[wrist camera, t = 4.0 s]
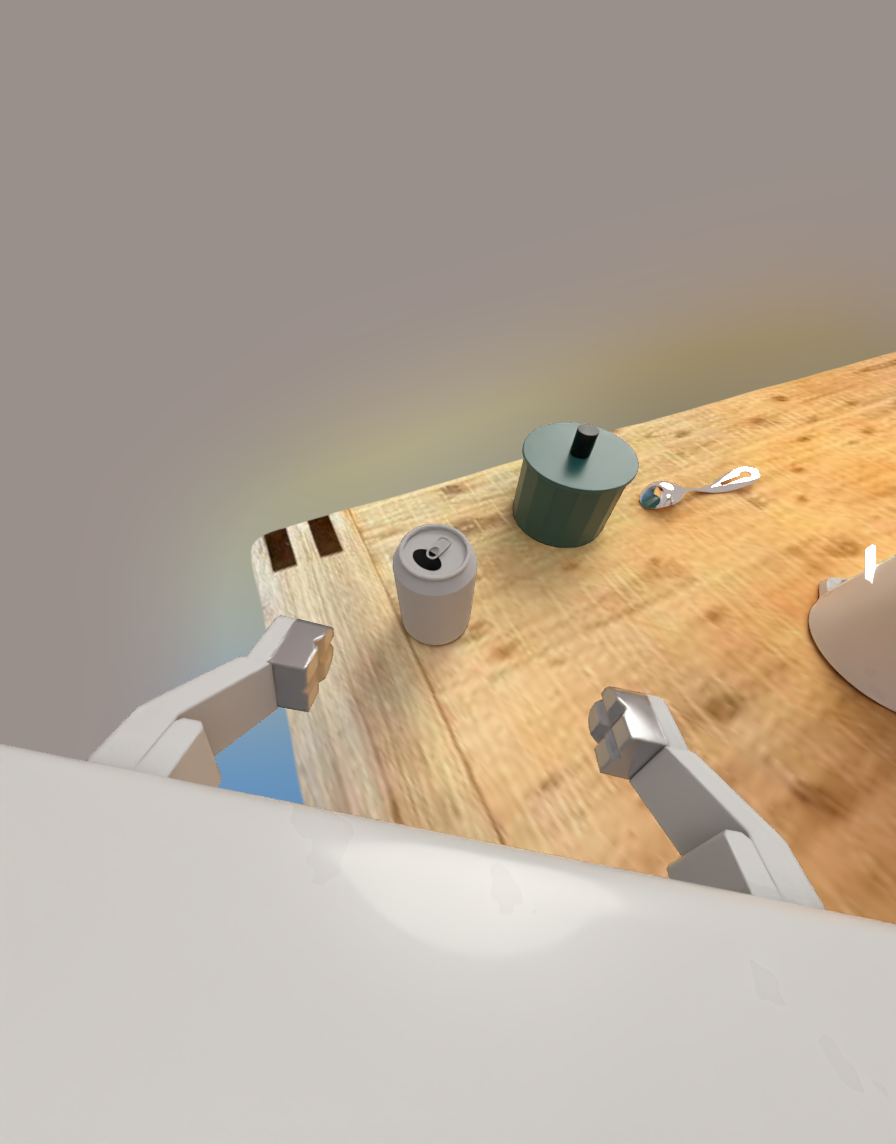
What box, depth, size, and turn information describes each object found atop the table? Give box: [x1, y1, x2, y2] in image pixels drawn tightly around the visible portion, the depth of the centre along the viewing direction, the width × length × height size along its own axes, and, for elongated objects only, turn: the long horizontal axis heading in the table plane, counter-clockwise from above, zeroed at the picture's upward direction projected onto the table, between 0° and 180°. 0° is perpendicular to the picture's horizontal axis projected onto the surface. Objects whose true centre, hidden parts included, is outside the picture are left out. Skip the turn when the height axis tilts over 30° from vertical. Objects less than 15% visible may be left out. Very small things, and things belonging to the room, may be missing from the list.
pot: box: [513, 459, 626, 548], centre depth 46 cm, size 12×12×10 cm
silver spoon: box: [640, 467, 760, 509], centre depth 52 cm, size 20×4×5 cm
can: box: [393, 524, 478, 645], centre depth 34 cm, size 8×8×12 cm
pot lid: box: [522, 422, 639, 494], centre depth 41 cm, size 13×13×4 cm
